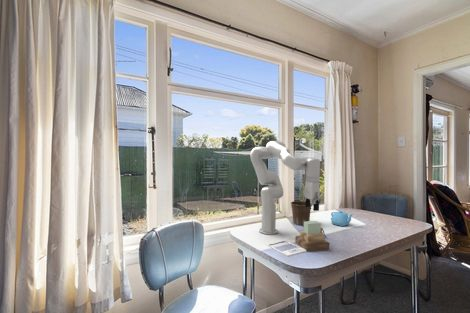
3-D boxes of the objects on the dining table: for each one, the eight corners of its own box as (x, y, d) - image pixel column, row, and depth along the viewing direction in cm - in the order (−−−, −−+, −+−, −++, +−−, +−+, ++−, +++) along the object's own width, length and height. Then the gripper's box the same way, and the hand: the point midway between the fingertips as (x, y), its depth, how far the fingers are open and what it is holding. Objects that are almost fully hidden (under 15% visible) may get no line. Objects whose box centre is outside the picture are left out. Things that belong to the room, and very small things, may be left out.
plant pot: (309, 228, 182) (309, 206, 182) (287, 224, 190) (287, 203, 190) (313, 222, 196) (314, 202, 196) (293, 219, 204) (294, 200, 204)
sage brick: (303, 231, 147) (303, 221, 147) (315, 230, 149) (316, 220, 149) (307, 234, 142) (308, 223, 142) (320, 233, 144) (320, 223, 144)
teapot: (349, 214, 180) (326, 209, 194) (348, 229, 180) (326, 223, 195) (357, 212, 188) (335, 208, 202) (357, 226, 188) (335, 221, 202)
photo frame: (287, 255, 131) (266, 244, 146) (287, 257, 131) (266, 246, 146) (307, 249, 138) (285, 240, 153) (307, 251, 138) (285, 241, 153)
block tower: (295, 242, 151) (295, 229, 151) (316, 241, 154) (316, 228, 154) (306, 251, 137) (306, 237, 137) (329, 249, 140) (329, 235, 140)
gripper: (299, 177, 153) (299, 205, 153) (314, 181, 136) (313, 212, 136) (311, 177, 154) (310, 205, 155) (326, 181, 138) (325, 212, 138)
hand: (311, 208), depth 146 cm, fingers open, 9 cm apart
